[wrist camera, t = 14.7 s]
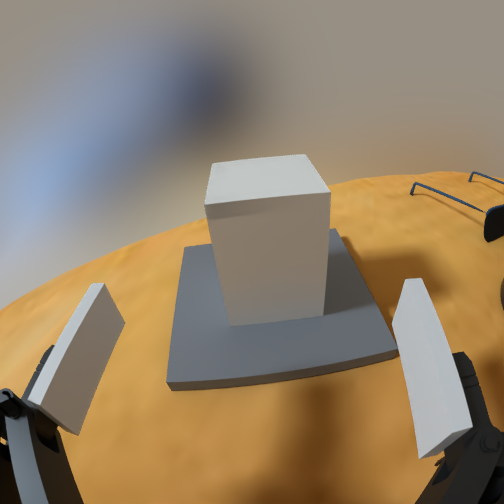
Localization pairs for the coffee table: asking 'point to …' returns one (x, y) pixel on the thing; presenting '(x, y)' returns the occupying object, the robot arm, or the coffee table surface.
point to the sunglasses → (497, 218)
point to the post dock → (272, 330)
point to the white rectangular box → (269, 237)
